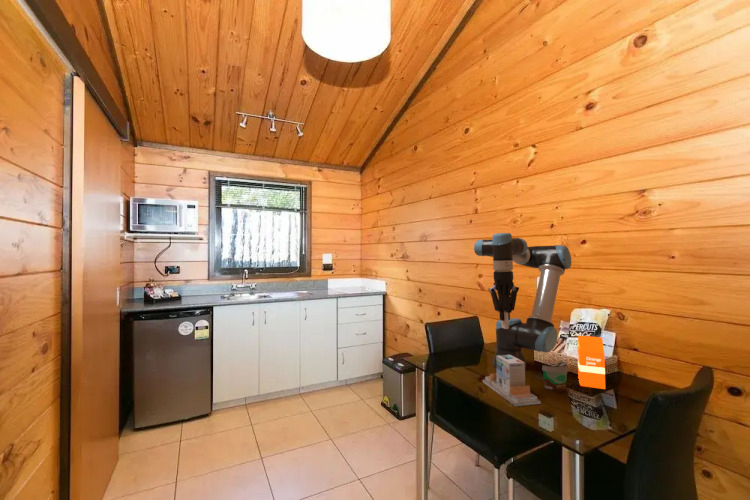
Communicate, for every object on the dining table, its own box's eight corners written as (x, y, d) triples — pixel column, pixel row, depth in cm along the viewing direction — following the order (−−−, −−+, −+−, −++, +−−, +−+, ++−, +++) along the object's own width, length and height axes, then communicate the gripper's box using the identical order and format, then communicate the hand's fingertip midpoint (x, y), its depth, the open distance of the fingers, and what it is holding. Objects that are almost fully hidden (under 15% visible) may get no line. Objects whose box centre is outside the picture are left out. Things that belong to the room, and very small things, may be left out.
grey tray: (503, 380, 145) (503, 368, 145) (540, 403, 121) (540, 390, 122) (482, 382, 143) (482, 370, 143) (516, 406, 120) (515, 392, 120)
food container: (556, 395, 129) (556, 369, 129) (542, 389, 134) (541, 365, 134) (576, 389, 134) (575, 364, 135) (561, 384, 140) (560, 360, 140)
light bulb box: (496, 381, 137) (495, 355, 138) (511, 380, 138) (510, 354, 139) (510, 391, 127) (509, 363, 127) (526, 390, 128) (525, 362, 128)
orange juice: (578, 379, 145) (576, 333, 145) (602, 382, 141) (601, 335, 141) (580, 385, 138) (578, 337, 138) (605, 389, 134) (604, 339, 134)
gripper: (494, 271, 131) (496, 331, 131) (523, 270, 134) (525, 328, 134) (483, 271, 138) (485, 327, 138) (511, 269, 141) (513, 325, 141)
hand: (505, 328), depth 136 cm, fingers closed
